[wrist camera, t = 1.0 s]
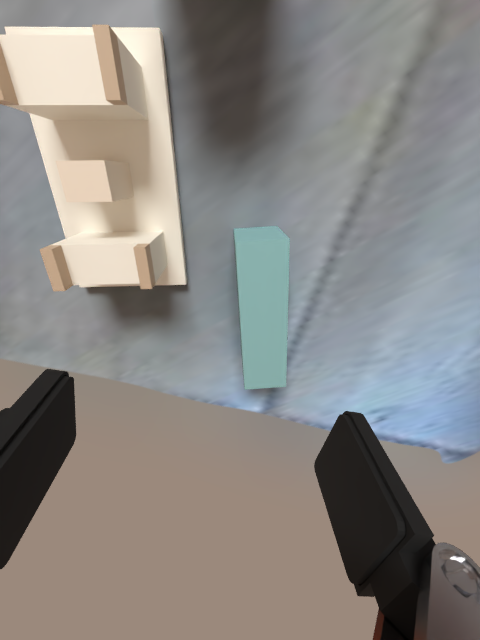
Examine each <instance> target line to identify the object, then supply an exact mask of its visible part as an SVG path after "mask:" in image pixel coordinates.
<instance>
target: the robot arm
mask: <svg viewBox="0 0 480 640" xmlns="http://www.w3.org/2000/svg"><path fill="white" fill-rule="evenodd" d="M75 422H76V420H75V396H74V378H73V377H69V374H68V372H66V371H59V370H52V369H47V370H45V371H44V372H43V373H42V374H41V375H40V376H39V377H38V378H37V379H36V380H35V381H34V383H33V384H32V385H31V386H30V387H29V388H28V389H27V391H25V393H23V395H22V396H21V397H20V398H19V399H18V400H17V401H16V402H15V404H13V405H12V407H11V408H5V409H3V410H1V411H0V569H2V568H3V567H4V566H5V565H6V564H7V562H8V561H9V559H10V557H11V555H12V553H13V552H14V550H15V548H16V546H17V545H18V543H19V541H20V539H21V537H22V536H23V534H24V532H25V530H26V528H27V527H28V525H29V523H30V521H31V520H32V518H33V516H34V514H35V512H36V510H37V509H38V507H39V505H40V503H41V501H42V500H43V498H44V496H45V494H46V492H47V491H48V489H49V487H50V486H51V484H52V482H53V480H54V478H55V476H56V475H57V473H58V471H59V469H60V468H61V466H62V464H63V462H64V460H65V459H66V457H67V455H68V453H69V451H70V450H71V448H72V446H73V444H74V441H75V438H76V423H75ZM314 467H315V473H316V476H317V479H318V482H319V486H320V489H321V492H322V495H323V499H324V502H325V505H326V508H327V511H328V515H329V518H330V521H331V524H332V528H333V531H334V534H335V537H336V540H337V544H338V547H339V550H340V553H341V557H342V560H343V563H344V566H345V570H346V573H347V576H348V578H349V580H350V582H351V583H353V584H354V586H355V589H356V592H357V595H358V596H370V597H374V596H375V598H376V601H377V603H378V606H379V610H378V615H377V620H376V625H375V630H374V635H373V640H480V567H479V566H478V565H477V564H476V563H475V562H474V561H473V560H472V559H471V558H470V557H469V556H468V555H467V554H465V553H464V552H463V551H462V550H460V549H458V548H457V547H455V546H453V545H451V544H447V543H438V544H435V542H434V541H433V539H432V537H433V536H434V535H433V533H432V531H431V530H430V528H429V526H428V524H427V523H426V521H425V519H424V518H423V516H422V514H421V513H420V511H419V509H418V507H417V506H416V504H415V502H414V501H413V499H412V497H411V495H410V494H409V492H408V491H407V488H406V487H405V485H404V483H403V482H402V480H401V478H400V476H399V475H398V473H397V472H396V470H395V468H394V466H393V465H392V463H391V461H390V459H389V458H388V456H387V454H386V453H385V451H384V449H383V448H382V446H381V444H380V442H379V441H378V439H377V437H376V435H375V434H374V432H373V430H372V429H371V427H370V425H369V423H368V422H367V420H366V418H365V417H364V415H363V414H361V413H356V412H349V411H345V412H344V413H343V414H342V415H339V417H338V418H337V420H336V422H335V424H334V426H333V428H332V430H331V432H330V434H329V436H328V437H327V439H326V441H325V443H324V445H323V447H322V449H321V451H320V453H319V455H318V456H317V458H316V461H315V465H314Z"/></svg>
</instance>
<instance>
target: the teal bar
mask: <svg viewBox="0 0 480 640" xmlns="http://www.w3.org/2000/svg"><path fill="white" fill-rule="evenodd" d="M234 244H235V259H236V274H237V290H238V305H239V321H240V336H241V351H242V364H243V376H244V387H245V390H247V389H261V388H274V387H286V366H287V326H288V286H289V246H290V239H289V238H288V237H287V236H286V235H285V234H284V233H283V232H282V231H281V230H280V229H279V228H278V227H277V226H270V227H255V228H240V229H234Z"/></svg>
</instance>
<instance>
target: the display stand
mask: <svg viewBox="0 0 480 640" xmlns="http://www.w3.org/2000/svg"><path fill="white" fill-rule="evenodd" d="M5 31H6V34H7V35H0V104H2V105H6V106H9V107H12V108H15V109H18V110H22V111H25V112H28V113H30V117H31V120H32V124H33V127H34V131H35V134H36V138H37V141H38V144H39V148H40V151H41V155H42V158H43V162H44V165H45V169H46V172H47V175H48V179H49V182H50V186H51V189H52V193H53V196H54V200H55V203H56V206H57V210H58V213H59V217H60V220H61V224H62V227H63V231H64V234H65V237H66V239H64V240H62V241H59V242H57V243H54V244H52V245H49V246H47V247H44V248H42V249H40V252H41V255H42V258H43V261H44V264H45V267H46V270H47V273H48V276H49V279H50V282H51V285H52V288H53V291H66V290H67V289H68V288H70V287H71V286H73V285H79V286H80V287H108V286H140V287H141V289H152V288H153V286H154V285H186V284H187V272H186V262H185V252H184V242H183V233H182V223H181V213H180V203H179V193H178V183H177V173H176V163H175V153H174V143H173V134H172V124H171V114H170V104H169V94H168V84H167V74H166V64H165V54H164V44H163V35H162V32H161V30H160V28H111V27H110V26H109V25H92V27H5Z"/></svg>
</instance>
